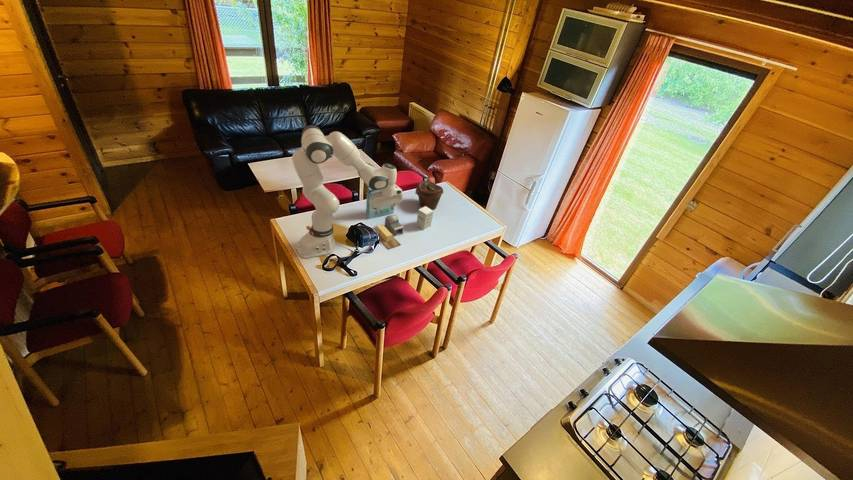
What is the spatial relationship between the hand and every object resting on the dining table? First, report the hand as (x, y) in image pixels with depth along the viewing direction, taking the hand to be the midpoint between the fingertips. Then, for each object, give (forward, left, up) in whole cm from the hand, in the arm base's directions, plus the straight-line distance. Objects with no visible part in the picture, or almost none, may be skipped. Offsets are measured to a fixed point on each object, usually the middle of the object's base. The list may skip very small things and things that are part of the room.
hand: (385, 210), depth 220 cm
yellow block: (+1, 0, -19) cm, 19 cm away
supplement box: (+31, -1, -20) cm, 37 cm away
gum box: (+11, +23, -20) cm, 32 cm away
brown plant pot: (+48, +18, -20) cm, 55 cm away
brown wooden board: (+1, -4, -20) cm, 20 cm away
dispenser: (+10, +3, -20) cm, 22 cm away
